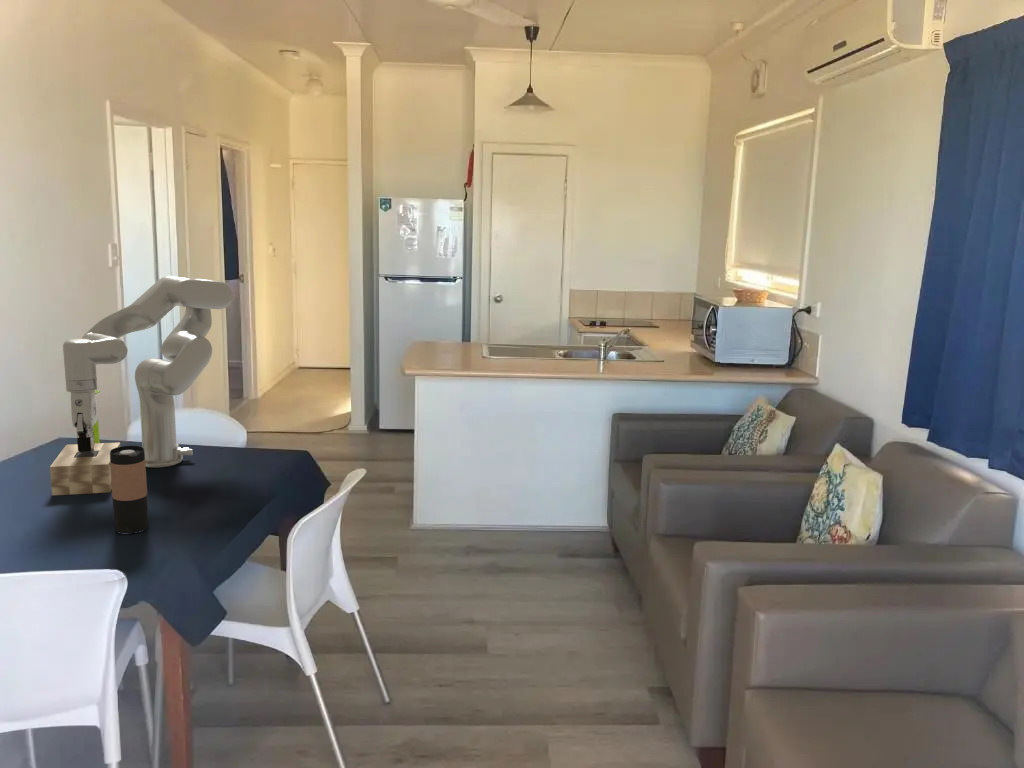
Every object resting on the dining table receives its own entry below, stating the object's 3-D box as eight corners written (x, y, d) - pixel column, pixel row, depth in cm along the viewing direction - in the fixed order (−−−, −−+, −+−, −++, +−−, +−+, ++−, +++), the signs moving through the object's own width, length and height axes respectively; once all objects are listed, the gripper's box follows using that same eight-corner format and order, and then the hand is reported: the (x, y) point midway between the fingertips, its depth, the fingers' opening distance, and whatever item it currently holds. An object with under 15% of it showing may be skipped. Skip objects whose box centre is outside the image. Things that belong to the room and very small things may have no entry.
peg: (95, 448, 227) (93, 424, 226) (92, 452, 224) (91, 428, 222) (79, 449, 226) (77, 425, 225) (76, 453, 223) (74, 429, 221)
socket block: (121, 468, 238) (120, 442, 237) (110, 492, 220) (108, 464, 218) (68, 471, 234) (66, 444, 232) (52, 495, 216) (49, 466, 214)
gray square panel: (98, 453, 228) (98, 450, 228) (95, 459, 224) (94, 456, 224) (78, 454, 227) (78, 451, 227) (75, 460, 222) (74, 457, 222)
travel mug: (121, 522, 201) (116, 445, 196) (153, 522, 201) (149, 445, 197) (109, 534, 193) (103, 454, 189) (142, 535, 194) (137, 455, 190)
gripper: (91, 391, 214) (95, 457, 218) (102, 377, 230) (106, 439, 234) (59, 392, 212) (64, 458, 216) (72, 378, 228) (77, 440, 232)
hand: (86, 448), depth 225 cm, fingers closed on peg, 3 cm apart
